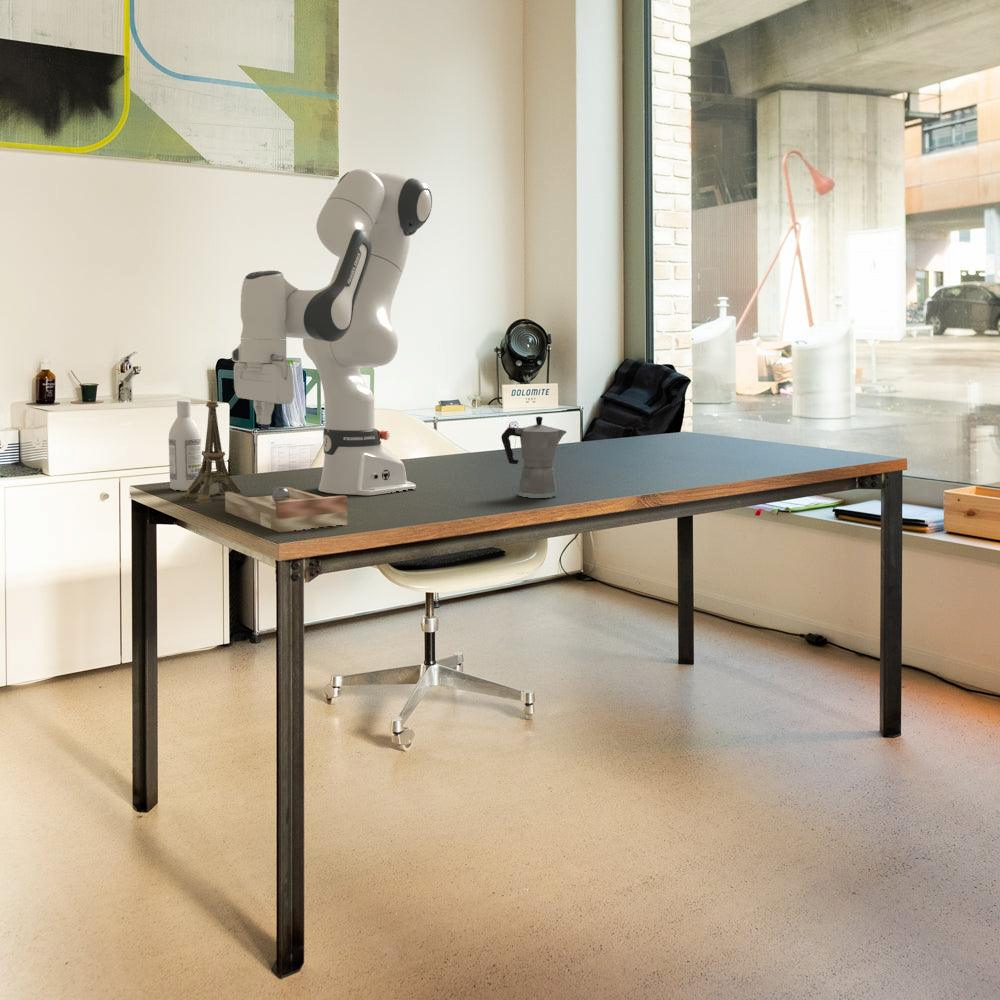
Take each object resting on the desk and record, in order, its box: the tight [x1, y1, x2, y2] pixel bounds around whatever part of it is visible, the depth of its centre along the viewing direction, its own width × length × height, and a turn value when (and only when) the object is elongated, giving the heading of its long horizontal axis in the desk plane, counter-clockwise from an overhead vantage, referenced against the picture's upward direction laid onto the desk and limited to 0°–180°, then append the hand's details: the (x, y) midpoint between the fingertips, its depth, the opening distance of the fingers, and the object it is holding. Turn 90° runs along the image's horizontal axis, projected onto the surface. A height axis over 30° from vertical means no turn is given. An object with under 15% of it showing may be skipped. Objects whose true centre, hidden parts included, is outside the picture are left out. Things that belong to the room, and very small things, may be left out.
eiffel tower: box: [182, 381, 243, 504], centre depth 234 cm, size 11×11×25 cm
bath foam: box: [168, 399, 203, 492], centre depth 245 cm, size 7×7×20 cm
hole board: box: [224, 486, 348, 533], centre depth 213 cm, size 14×25×6 cm, turn 37°
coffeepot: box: [501, 416, 567, 494], centre depth 245 cm, size 15×9×18 cm, turn 109°
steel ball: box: [271, 486, 290, 503], centre depth 214 cm, size 4×4×4 cm
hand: (263, 423), depth 217 cm, fingers closed
